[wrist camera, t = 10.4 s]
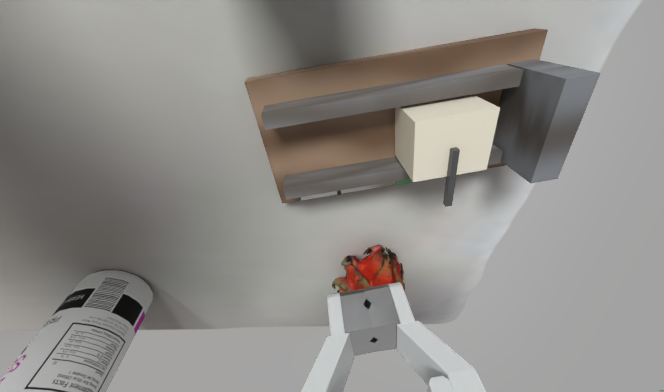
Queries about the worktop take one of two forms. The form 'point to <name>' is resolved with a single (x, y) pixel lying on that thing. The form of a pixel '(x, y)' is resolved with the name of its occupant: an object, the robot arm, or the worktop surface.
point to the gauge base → (407, 89)
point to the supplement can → (83, 337)
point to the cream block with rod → (445, 138)
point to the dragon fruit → (370, 271)
